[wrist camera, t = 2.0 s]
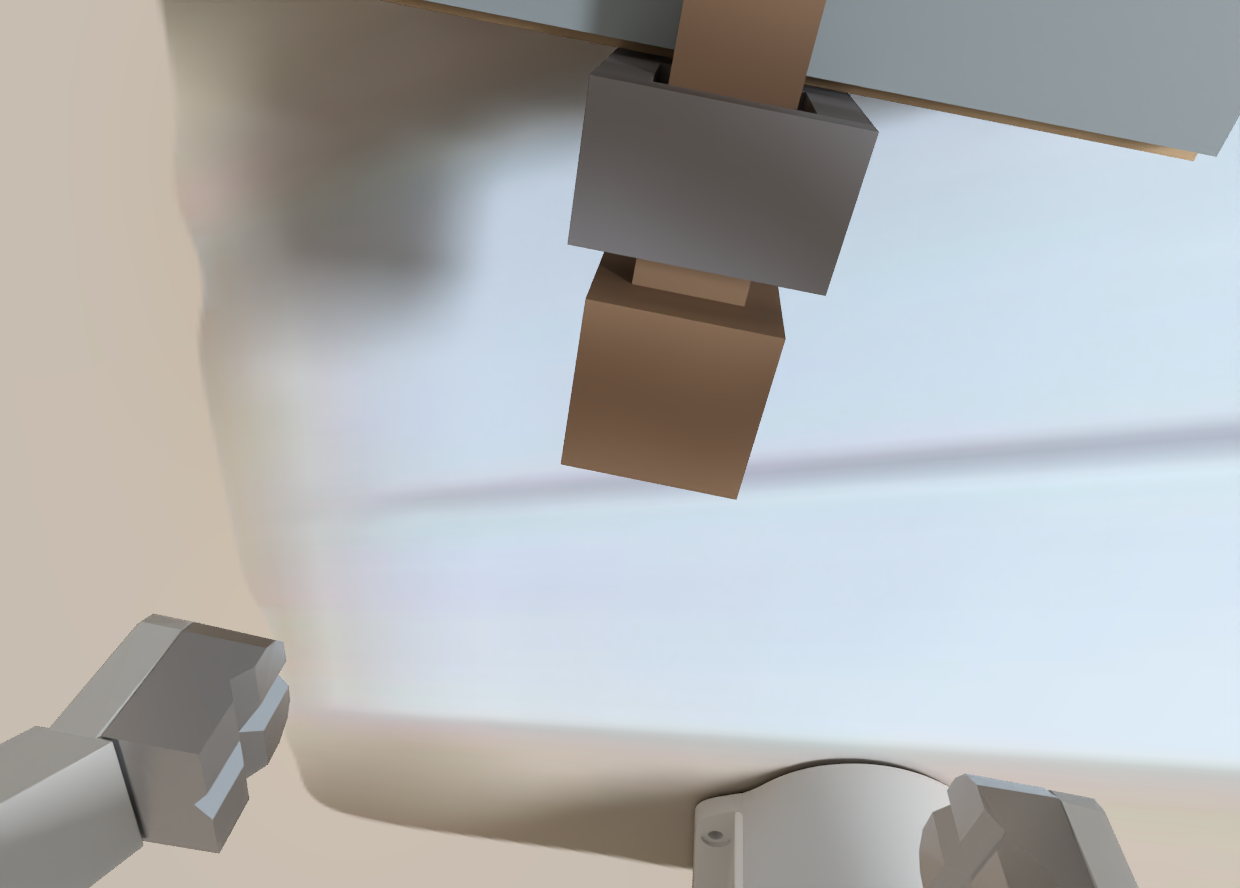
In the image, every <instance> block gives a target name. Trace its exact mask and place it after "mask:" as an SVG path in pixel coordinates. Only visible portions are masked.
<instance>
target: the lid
mask: <svg viewBox="0 0 1240 888" xmlns="http://www.w3.org/2000/svg"><path fill="white" fill-rule="evenodd" d="M425 1H431V2H436V3H441V4H446V5H451V6H456V7H461V8H466V9H471V10H476V11H481V12H486V13H491V14H496V15H501V16H506V17H512V18H517V19H522V20H527V21H532V22H537V23H542V24H547V25H552V26H557V27H562V28H567V29H572V30H577V31H582V32H588V33H593V34H598V35H603V36H608V37H613V38H618V39H623V40H628V41H633V42H638V43H643V44H648V45H653V46H658V47H663V48H669V49H674V50H675V45H676V39H677V34H678V28H679V23H680V17H681V12H682V7H683V1H684V0H425ZM806 76H810V77H815V78H820V79H826V80H831V81H836V82H841V83H846V84H851V85H856V86H861V87H866V88H871V89H876V90H881V91H886V92H891V93H896V94H901V95H907V96H912V97H917V98H922V99H927V100H932V101H937V102H942V103H947V104H952V105H957V106H962V107H967V108H972V109H977V110H982V111H988V112H993V113H998V114H1003V115H1008V116H1013V117H1018V118H1023V119H1028V120H1033V121H1038V122H1043V123H1048V124H1053V125H1058V126H1064V127H1069V128H1074V129H1079V130H1084V131H1089V132H1094V133H1099V134H1104V135H1109V136H1114V137H1119V138H1124V139H1129V140H1134V141H1139V142H1145V143H1150V144H1155V145H1160V146H1165V147H1170V148H1175V149H1180V150H1185V151H1190V152H1195V153H1200V154H1205V155H1210V156H1215V157H1217V155H1218V153H1219V151H1220V149H1221V148H1222V146H1223V144H1224V142H1225V140H1226V139H1227V137H1228V135H1229V133H1230V131H1231V130H1232V128H1233V126H1234V124H1235V122H1236V121H1237V119H1238V117H1239V115H1240V0H826V3H825V7H824V11H823V15H822V18H821V22H820V26H819V29H818V33H817V37H816V41H815V44H814V48H813V52H812V56H811V59H810V63H809V67H808V71H807V74H806Z"/></svg>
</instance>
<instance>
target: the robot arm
mask: <svg viewBox="0 0 1240 888" xmlns="http://www.w3.org/2000/svg"><path fill="white" fill-rule="evenodd" d="M285 662H286V656H285V649H284V643H283V642H281V641H277V640H272V639H268V638H263V637H259V636H254V635H249V634H245V633H241V632H236V631H232V630H227V629H223V628H219V627H214V626H209V625H205V624H201V623H196V622H191V621H186V620H181V619H177V618H172V617H167V616H162V615H157V614H152V615H151V616H149V617H147V618H146V619H144V620H143V621H141V622H140V623H138V624H137V625H136V627H135V628H134V629H133V630H132V631H131V632H130V633H129V635H128V636H127V637H126V638H125V639H124V641H123V642H122V643H121V644H120V645H119V646H118V648H117V649H116V650H115V651H114V652H113V654H112V655H111V656H110V657H109V658H108V660H107V661H106V662H105V663H104V664H103V665H102V667H101V668H100V669H99V670H98V671H97V672H96V674H95V675H94V676H93V677H92V678H91V680H90V681H89V682H88V683H87V684H86V686H85V687H84V688H83V689H82V690H81V691H80V693H79V694H78V695H77V696H76V697H75V698H74V700H73V701H72V702H71V703H70V704H69V706H68V707H67V708H66V709H65V710H64V712H63V713H62V714H61V715H60V716H59V717H58V719H57V720H56V721H55V722H54V723H53V725H52V726H51V727H50V728H45V727H39V726H35V727H33V728H31V729H29V730H27V731H25V732H23V733H21V734H20V735H17V736H15V737H14V738H11V739H10V740H7V741H6V742H4V743H2V744H0V888H89V887H90V886H92V885H93V884H94V883H96V882H97V881H98V880H99V879H101V878H102V877H103V876H105V875H106V874H107V873H109V872H110V871H111V870H113V869H114V868H115V867H116V866H118V865H119V864H120V863H122V862H123V861H124V860H126V859H127V858H128V857H129V856H131V855H132V854H133V853H135V852H136V851H137V850H139V849H140V848H141V847H142V846H143V841H147V842H153V843H159V844H165V845H172V846H178V847H184V848H189V849H196V850H202V851H208V852H214V853H220V851H221V849H222V847H223V846H224V844H225V842H226V840H227V838H228V836H229V835H230V833H231V831H232V829H233V827H234V826H235V824H236V822H237V820H238V818H239V816H240V814H241V813H242V811H243V809H244V807H245V805H246V804H247V802H248V800H249V795H248V788H247V782H246V778H248V777H249V776H251V775H252V774H254V773H255V772H257V771H258V770H260V769H262V768H263V767H265V766H266V765H268V763H269V761H270V759H271V757H272V755H273V753H274V752H275V750H276V748H277V746H278V744H279V742H280V739H281V736H282V733H283V730H284V727H285V724H286V721H287V718H288V710H289V703H290V695H289V686H288V685H287V684H286V682H285V681H284V680H283V679H282V678H281V677H280V676H279V675H278V674H279V673H280V671H281V669H282V667H283V666H284V664H285ZM692 887H693V888H1138V885H1137V883H1136V881H1135V879H1134V876H1133V874H1132V872H1131V870H1130V867H1129V865H1128V863H1127V861H1126V858H1125V856H1124V854H1123V852H1122V849H1121V847H1120V845H1119V843H1118V840H1117V838H1116V836H1115V834H1114V831H1113V829H1112V827H1111V825H1110V822H1109V820H1108V818H1107V816H1106V813H1105V811H1104V810H1103V808H1102V807H1101V806H1100V805H1099V804H1098V803H1097V802H1096V801H1095V799H1092V798H1088V797H1083V796H1078V795H1073V794H1067V793H1062V792H1057V791H1051V790H1046V789H1045V788H1042V787H1036V786H1031V785H1025V784H1019V783H1014V782H1008V781H1003V780H997V779H992V778H986V777H981V776H975V775H970V774H963V775H961V776H959V777H956V778H955V779H954V781H953V782H952V784H951V785H950V787H948V786H946V785H944V784H942V783H940V782H938V781H936V780H934V779H931V778H929V777H926V776H924V775H921V774H918V773H915V772H911V771H908V770H904V769H899V768H894V767H889V766H882V765H872V764H833V765H824V766H817V767H812V768H807V769H802V770H798V771H795V772H792V773H788V774H786V775H783V776H780V777H778V778H776V779H773V780H771V781H769V782H767V783H765V784H763V785H761V786H759V787H757V788H755V789H753V790H750V791H747V792H744V793H739V794H732V795H726V796H720V797H715V798H710V799H707V800H704V801H702V802H700V803H699V804H698V805H697V806H696V808H695V824H694V854H693V886H692Z"/></svg>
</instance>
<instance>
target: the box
mask: <svg viewBox="0 0 1240 888" xmlns="http://www.w3.org/2000/svg"><path fill="white" fill-rule="evenodd" d="M381 1H386V2H391V3H396V4H401V5H406V6H411V7H416V8H421V9H426V10H431V11H436V12H441V13H446V14H452V15H457V16H462V17H467V18H472V19H477V20H482V21H487V22H492V23H497V24H502V25H507V26H512V27H517V28H522V29H527V30H533V31H538V32H543V33H548V34H553V35H558V36H563V37H568V38H573V39H578V40H583V41H588V42H593V43H598V44H603V45H608V46H614V47H618V48H617V49H616V50H615V51H614V52H613V53H612V54H611V55H610V56H609V57H608V58H607V59H606V60H605V61H604V62H603V63H602V64H601V65H600V66H599V67H598V68H597V69H595V70H594V71H593V72H592V73H591V74H590V78H589V86H588V93H587V101H586V108H585V116H584V124H583V131H582V139H581V146H580V154H579V161H578V169H577V177H576V184H575V192H574V199H573V207H572V215H571V222H570V230H569V237H568V244H569V245H574V246H579V247H584V248H589V249H594V250H599V251H604V252H609V253H614V254H619V255H624V256H629V257H634V258H639V259H644V260H649V261H654V262H659V263H664V264H669V265H674V266H679V267H684V268H689V269H694V270H699V271H704V272H709V273H714V274H719V275H724V276H729V277H734V278H739V279H744V280H749V281H754V282H759V283H764V284H769V285H774V286H779V287H784V288H789V289H794V290H799V291H804V292H809V293H814V294H819V295H824V296H826V293H827V290H828V287H829V284H830V281H831V277H832V274H833V271H834V268H835V265H836V262H837V259H838V256H839V253H840V250H841V247H842V244H843V241H844V237H845V234H846V231H847V228H848V225H849V222H850V219H851V216H852V213H853V210H854V207H855V204H856V201H857V197H858V194H859V191H860V188H861V185H862V182H863V179H864V176H865V173H866V170H867V167H868V164H869V161H870V157H871V154H872V151H873V148H874V145H875V142H876V139H877V136H878V133H879V132H878V130H877V129H876V128H875V127H874V125H873V124H872V123H871V122H870V120H869V119H868V118H867V117H866V115H865V114H864V113H863V112H862V110H861V109H860V108H859V107H858V105H857V104H856V103H855V101H854V100H853V99H852V98H851V96H850V95H849V94H848V93H851V94H856V95H862V96H867V97H872V98H877V99H882V100H887V101H892V102H897V103H902V104H907V105H912V106H917V107H922V108H927V109H932V110H937V111H943V112H948V113H953V114H958V115H963V116H968V117H973V118H978V119H983V120H988V121H993V122H998V123H1003V124H1008V125H1013V126H1018V127H1023V128H1029V129H1034V130H1039V131H1044V132H1049V133H1054V134H1059V135H1064V136H1069V137H1074V138H1079V139H1084V140H1089V141H1094V142H1099V143H1104V144H1110V145H1115V146H1120V147H1125V148H1130V149H1135V150H1140V151H1145V152H1150V153H1155V154H1160V155H1165V156H1170V157H1175V158H1180V159H1185V160H1191V161H1194V159H1195V157H1196V155H1197V154H1198V153H1195V152H1190V151H1185V150H1180V149H1175V148H1170V147H1165V146H1160V145H1155V144H1150V143H1145V142H1139V141H1134V140H1129V139H1124V138H1119V137H1114V136H1109V135H1104V134H1099V133H1094V132H1089V131H1084V130H1079V129H1074V128H1069V127H1064V126H1058V125H1053V124H1048V123H1043V122H1038V121H1033V120H1028V119H1023V118H1018V117H1013V116H1008V115H1003V114H998V113H993V112H988V111H982V110H977V109H972V108H967V107H962V106H957V105H952V104H947V103H942V102H937V101H932V100H927V99H922V98H917V97H912V96H907V95H901V94H896V93H891V92H886V91H881V90H876V89H871V88H866V87H861V86H856V85H851V84H846V83H841V82H836V81H831V80H826V79H820V78H815V77H810V76H806V78H805V82H804V85H803V89H802V93H801V97H800V100H799V104H798V108H797V110H794V109H789V108H784V107H779V106H774V105H769V104H764V103H759V102H753V101H748V100H743V99H738V98H733V97H728V96H723V95H718V94H713V93H708V92H703V91H698V90H693V89H688V88H683V87H678V86H673V85H668V83H669V78H670V72H671V67H672V61H673V56H674V49H669V48H663V47H658V46H653V45H648V44H643V43H638V42H633V41H628V40H623V39H618V38H613V37H608V36H603V35H598V34H593V33H588V32H582V31H577V30H572V29H567V28H562V27H557V26H552V25H547V24H542V23H537V22H532V21H527V20H522V19H517V18H512V17H506V16H501V15H496V14H491V13H486V12H481V11H476V10H471V9H466V8H461V7H456V6H451V5H446V4H441V3H436V2H431V1H425V0H381Z"/></svg>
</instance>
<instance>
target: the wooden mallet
mask: <svg viewBox="0 0 1240 888" xmlns="http://www.w3.org/2000/svg"><path fill="white" fill-rule="evenodd" d="M825 3H826V0H684V1H683V7H682V12H681V17H680V23H679V28H678V34H677V39H676V45H675V50H674V56H673V61H672V67H671V72H670V78H669V83H668V85H673V86H678V87H683V88H688V89H693V90H698V91H703V92H708V93H713V94H718V95H723V96H728V97H733V98H738V99H743V100H748V101H753V102H759V103H764V104H769V105H774V106H779V107H784V108H789V109H794V110H797V108H798V104H799V100H800V97H801V93H802V89H803V85H804V82H805V78H806V74H807V71H808V67H809V63H810V59H811V56H812V52H813V48H814V44H815V41H816V37H817V33H818V29H819V26H820V22H821V18H822V15H823V11H824V7H825ZM784 342H785V332H784V326H783V319H782V312H781V305H780V298H779V291H778V286H774V285H769V284H764V283H759V282H754V281H749V280H744V279H739V278H734V277H729V276H724V275H719V274H714V273H709V272H704V271H699V270H694V269H689V268H684V267H679V266H674V265H669V264H664V263H659V262H654V261H649V260H644V259H639V258H634V257H629V256H624V255H619V254H614V253H609V252H604V254H603V257H602V259H601V262H600V264H599V267H598V269H597V272H596V274H595V277H594V279H593V282H592V284H591V287H590V289H589V292H588V294H587V297H586V300H585V306H584V313H583V320H582V326H581V333H580V340H579V346H578V353H577V360H576V366H575V373H574V380H573V386H572V393H571V400H570V406H569V413H568V420H567V426H566V433H565V439H564V446H563V453H562V459H561V464H562V465H567V466H572V467H577V468H582V469H587V470H592V471H597V472H602V473H607V474H612V475H617V476H622V477H627V478H632V479H637V480H641V481H646V482H651V483H656V484H661V485H666V486H671V487H676V488H681V489H686V490H691V491H696V492H701V493H706V494H711V495H716V496H721V497H726V498H731V499H737V496H738V493H739V489H740V486H741V483H742V480H743V476H744V473H745V470H746V466H747V463H748V460H749V457H750V453H751V450H752V447H753V444H754V440H755V437H756V434H757V430H758V427H759V424H760V421H761V417H762V414H763V411H764V408H765V404H766V401H767V398H768V394H769V391H770V388H771V385H772V381H773V378H774V375H775V371H776V368H777V365H778V362H779V358H780V355H781V352H782V349H783V345H784Z"/></svg>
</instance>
